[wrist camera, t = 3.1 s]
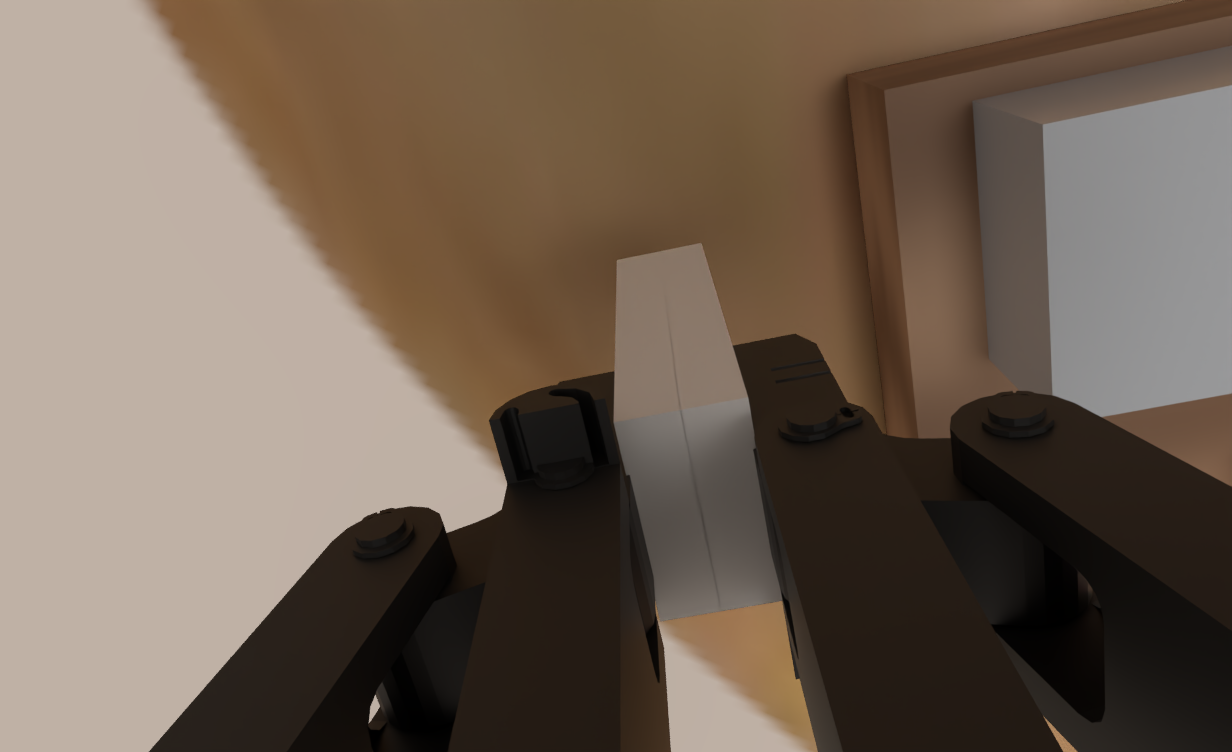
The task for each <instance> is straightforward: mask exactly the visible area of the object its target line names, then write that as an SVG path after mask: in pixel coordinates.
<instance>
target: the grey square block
mask: <svg viewBox="0 0 1232 752" xmlns="http://www.w3.org/2000/svg"><path fill="white" fill-rule="evenodd" d="M972 103H973V118H974V134H975V150H976V165H977V181H978V196H979V212H980V228H981V243H982V259H983V274H984V290H985V306H986V321H987V337H988V352H989V360H990V361H991V362H992V363H993V364H994V365H995V366H996V367H997V368H998V369H999V370H1000V371H1001V372H1002V373H1003V374H1004V375H1005V376H1006V377H1007V378H1008V379H1009V380H1010V381H1011V382H1012V383H1013V384H1014V385H1015V386H1016V387H1017V388H1018V389H1019V391H1031V392H1034V393H1038V394H1046V395H1053V396H1057V397H1060V398H1062V399H1065V400H1068V401H1071V402H1074V403H1076V404H1078V405H1079V406H1081V407H1083V408H1085V409H1087V410H1089V411H1091V412H1093V413H1094V414H1096V415H1098V416H1100V417H1105V416H1110V415H1116V414H1121V413H1127V412H1132V411H1138V410H1143V409H1149V408H1154V407H1160V406H1165V405H1171V404H1176V403H1182V402H1187V401H1193V400H1198V399H1204V398H1209V397H1215V396H1220V395H1226V394H1231V393H1232V46H1228V47H1223V48H1218V49H1213V50H1209V51H1204V52H1199V53H1195V54H1190V55H1185V56H1180V57H1176V58H1171V59H1166V60H1162V61H1157V62H1152V63H1148V64H1143V65H1138V66H1133V67H1129V68H1124V69H1119V70H1115V71H1110V72H1105V73H1100V74H1096V75H1091V76H1086V77H1082V78H1077V79H1072V80H1068V81H1063V82H1058V83H1053V84H1049V85H1044V86H1039V87H1035V88H1030V89H1025V90H1020V91H1016V92H1011V93H1006V94H1002V95H997V96H992V97H988V98H983V99H978V100H973V101H972Z"/></svg>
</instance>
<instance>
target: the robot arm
mask: <svg viewBox="0 0 1232 752" xmlns="http://www.w3.org/2000/svg"><path fill="white" fill-rule="evenodd" d="M489 422H490V426H491V429H492V433H493V436H494V439H495V443H496V446H497V450H498V453H499V457H500V460H501V463H502V467H503V470H504V474H505V477H506V481H507V489H506V493H505V498H504V503H503V507H502V510H501V511H499V512H497V513H496V514H494V515H492V516H490V517H488V518H486V519H483V520H481V521H479V522H476V523H473V524H471V525H468V526H465V527H462V528H460V529H457V530H454V531H452V532H449V533H446V531H445V527H444V524H443V522H442V519H441V516H440V514H439V513H437V512H435V511H433V510H431V509H429V508H425V507H411V506H410V507H404V508H397V509H394V508H390V509H386V510H382V511H380V513H379V514H377V513H374V514H371V515H368V516H366V517H365V518H363V520H362V521H360V522H358V523H356V524H355V525H353V526H351V527H349V528H347V529H346V530H345V531H344V532H343V533H341V534H340V535H339V536H338V537H337V538H336V539H334V541H332V542H331V543H330V545H329V546H328V547H327V548H326V549H325V550H324V551H323V553H322V554H321V555H320V556H319V557H318V558H317V559H316V561H315V562H314V563H313V564H312V565H311V566H310V568H309V569H308V570H307V571H306V572H305V573H304V574H303V576H302V577H301V578H300V579H299V580H298V581H297V582H296V584H295V585H294V586H293V587H292V588H291V589H290V590H289V592H288V593H287V594H286V595H285V596H284V598H283V599H282V600H281V601H280V602H279V603H278V604H277V605H276V607H275V608H274V609H273V610H272V611H271V612H270V614H269V615H268V616H267V617H266V618H265V619H264V620H263V621H262V623H261V624H260V625H259V626H258V627H257V628H256V629H255V631H254V632H253V633H252V634H251V635H250V636H249V637H248V639H247V640H246V641H245V642H244V643H243V644H242V645H241V647H240V648H239V649H238V650H237V651H236V652H235V654H234V655H233V656H232V657H231V658H230V659H229V660H228V662H227V663H226V664H225V665H224V666H223V667H222V668H221V670H220V671H219V672H218V673H217V674H216V675H215V676H214V678H213V679H212V680H211V681H210V682H209V683H208V684H207V686H206V687H205V688H204V689H203V690H202V691H201V693H200V694H199V695H198V696H197V697H196V698H195V699H194V701H193V702H192V703H191V704H190V705H189V706H188V708H187V709H186V710H185V711H184V712H183V713H182V715H180V717H179V718H178V719H177V720H176V721H175V722H174V724H173V725H172V726H171V727H170V728H169V729H168V730H167V732H166V733H165V734H164V735H163V736H162V737H161V738H160V740H159V741H158V742H157V743H156V744H155V745H154V746H153V748H152V749H151V750H150V751H149V752H671V748H670V732H669V718H668V702H667V689H666V688H667V687H666V672H665V657H664V647H663V642H662V638H661V634H660V629H659V625H658V621H657V617H656V610H655V601H656V605H657V609H658V614H659V618H660V621H666V620H672V619H678V618H683V617H689V616H695V615H701V614H707V613H713V612H719V611H725V610H731V609H737V608H743V607H749V606H755V605H760V604H766V603H772V602H778V601H782V602H783V607H784V613H785V619H786V625H787V631H788V636H789V642H790V648H791V654H792V660H793V665H794V671H795V677H796V679H800V681H801V685H802V689H803V693H804V697H805V701H806V705H807V709H808V713H809V717H810V721H811V725H812V729H813V733H814V737H815V741H816V745H817V749H818V752H1063V751H1062V749H1061V747H1060V745H1059V743H1058V742H1057V740H1056V738H1055V736H1054V735H1053V733H1052V731H1051V729H1050V728H1049V726H1048V724H1047V722H1046V721H1045V719H1044V717H1045V718H1046V719H1047V720H1048V721H1049V722H1050V723H1051V724H1052V725H1053V726H1054V727H1055V728H1056V730H1057V731H1058V732H1059V733H1060V734H1061V735H1062V736H1063V737H1064V738H1065V739H1066V740H1067V741H1068V742H1069V743H1070V744H1071V745H1072V746H1073V747H1074V748H1075V749H1076V750H1077V751H1078V752H1232V487H1231V486H1229V485H1228V484H1226V483H1224V482H1222V481H1220V480H1218V479H1216V478H1214V477H1213V476H1211V475H1209V474H1207V473H1205V472H1203V471H1201V470H1199V469H1198V468H1196V467H1194V466H1192V465H1190V464H1188V463H1186V462H1184V461H1183V460H1181V459H1179V458H1177V457H1175V456H1173V455H1171V454H1169V453H1168V452H1166V451H1164V450H1162V449H1160V448H1158V447H1156V446H1154V445H1153V444H1151V443H1149V442H1147V441H1145V440H1143V439H1141V438H1139V437H1138V436H1136V435H1134V434H1132V433H1130V432H1128V431H1126V430H1124V429H1123V428H1121V427H1119V426H1117V425H1115V424H1113V423H1111V422H1109V421H1108V420H1106V419H1104V418H1102V417H1100V416H1098V415H1096V414H1094V413H1093V412H1091V411H1089V410H1087V409H1085V408H1083V407H1081V406H1079V405H1078V404H1076V403H1074V402H1071V401H1068V400H1065V399H1062V398H1060V397H1057V396H1053V395H1046V394H1038V393H1034V392H1031V391H1016V393H1013V391H1007V392H1000V393H997V394H996V395H992V396H987V397H982V398H979V399H977V400H974V401H972V402H970V403H967V404H965V405H963V406H961V407H960V408H959V409H958V410H957V411H956V412H955V413H954V414H953V415H952V416H951V422H950V436H951V438H902V437H896V436H890V435H885V434H882V432H881V430H880V429H879V427H878V425H877V423H876V422H875V420H874V418H873V416H872V415H871V414H870V413H868V412H867V411H866V410H865V409H864V408H863V407H860V406H857V405H854V404H851V403H848V402H847V400H846V399H845V397H844V395H843V393H842V391H841V389H840V387H839V385H838V384H837V382H836V380H835V378H834V376H833V374H832V373H831V371H830V369H829V367H828V365H827V363H826V361H824V357H823V356H822V354H821V352H820V350H819V348H818V346H817V344H816V343H814V342H811V341H809V340H807V339H805V338H803V337H801V336H799V335H797V334H791V335H786V336H781V337H776V338H771V339H765V340H760V341H755V342H750V343H745V344H740V345H734V346H732V342H731V339H730V336H729V332H728V329H727V326H726V323H725V319H724V316H723V313H722V309H721V306H720V303H719V299H718V296H717V293H716V289H715V286H714V283H713V280H712V276H711V273H710V270H709V266H708V263H707V260H706V256H705V253H704V250H703V247H702V243H698V244H693V245H688V246H683V247H678V248H674V249H669V250H664V251H659V252H654V253H649V254H644V255H639V256H634V257H629V258H624V259H619V260H617V279H616V328H615V371H614V372H608V373H603V374H598V375H593V376H588V377H582V378H577V379H572V380H567V381H562V382H559V383H558V384H557V385H553V386H548V387H544V388H541V389H537V390H533V391H530V392H527V393H525V394H523V395H521V396H518V397H516V398H514V399H512V400H510V401H508V402H507V403H505V404H504V405H503V406H501V407H500V408H498V409H497V410H496V411H495V412H494V414H493V415H492V417H491V418H490V420H489ZM375 694H376V697H377V699H378V702H379V704H380V708H379V709H378V711H377V713H376V714H375V716H374V717H373V719H372V721H371V722H370V723H369V724H368V722H369V714H370V706H371V703H372V701H373V699H374V696H375ZM1043 716H1044V717H1043Z"/></svg>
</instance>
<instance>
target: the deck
mask: <svg viewBox="0 0 1232 752" xmlns="http://www.w3.org/2000/svg"><path fill="white" fill-rule="evenodd" d="M1228 46H1232V0H1187V1H1183V2H1178V3H1174V4H1169V5H1164V6H1160V7H1155V8H1151V9H1146V10H1141V11H1137V12H1132V13H1128V14H1123V15H1118V16H1114V17H1109V18H1105V19H1100V20H1095V21H1091V22H1086V23H1082V24H1077V25H1072V26H1068V27H1063V28H1059V29H1054V30H1049V31H1045V32H1040V33H1036V34H1031V35H1026V36H1022V37H1017V38H1013V39H1008V40H1003V41H999V42H994V43H990V44H985V45H980V46H976V47H971V48H967V49H962V50H957V51H953V52H948V53H944V54H939V55H934V56H930V57H925V58H921V59H916V60H911V61H907V62H902V63H898V64H893V65H888V66H884V67H879V68H875V69H870V70H865V71H861V72H856V73H852V74H847V84H848V93H849V102H850V111H851V119H852V128H853V137H854V146H855V155H856V164H857V173H858V181H859V190H860V199H861V208H862V217H863V226H864V235H865V243H866V252H867V261H868V270H869V279H870V288H871V297H872V306H873V314H874V323H875V332H876V341H877V350H878V359H879V368H880V376H881V385H882V394H883V403H884V412H885V421H886V430H887V435H890V436H896V437H902V438H951V436H950V422H951V416H952V415H953V414H954V413H955V412H956V411H957V410H958V409H959V408H960V407H961V406H963V405H965V404H967V403H970V402H972V401H974V400H977V399H979V398H982V397H987V396H992V395H996V394H997V393H1000V392H1007V391H1013V393H1016V391H1019V389H1018V388H1017V387H1016V386H1015V385H1014V384H1013V383H1012V382H1011V381H1010V380H1009V379H1008V378H1007V377H1006V376H1005V375H1004V374H1003V373H1002V372H1001V371H1000V370H999V369H998V368H997V367H996V366H995V365H994V364H993V363H992V362H991V361H990V360H989V352H988V337H987V321H986V306H985V290H984V274H983V259H982V243H981V228H980V212H979V196H978V181H977V165H976V150H975V134H974V118H973V103H972V101H973V100H978V99H983V98H988V97H992V96H997V95H1002V94H1006V93H1011V92H1016V91H1020V90H1025V89H1030V88H1035V87H1039V86H1044V85H1049V84H1053V83H1058V82H1063V81H1068V80H1072V79H1077V78H1082V77H1086V76H1091V75H1096V74H1100V73H1105V72H1110V71H1115V70H1119V69H1124V68H1129V67H1133V66H1138V65H1143V64H1148V63H1152V62H1157V61H1162V60H1166V59H1171V58H1176V57H1180V56H1185V55H1190V54H1195V53H1199V52H1204V51H1209V50H1213V49H1218V48H1223V47H1228ZM1102 418H1104V419H1106V420H1108V421H1109V422H1111V423H1113V424H1115V425H1117V426H1119V427H1121V428H1123V429H1124V430H1126V431H1128V432H1130V433H1132V434H1134V435H1136V436H1138V437H1139V438H1141V439H1143V440H1145V441H1147V442H1149V443H1151V444H1153V445H1154V446H1156V447H1158V448H1160V449H1162V450H1164V451H1166V452H1168V453H1169V454H1171V455H1173V456H1175V457H1177V458H1179V459H1181V460H1183V461H1184V462H1186V463H1188V464H1190V465H1192V466H1194V467H1196V468H1198V469H1199V470H1201V471H1203V472H1205V473H1207V474H1209V475H1211V476H1213V477H1214V478H1216V479H1218V480H1220V481H1222V482H1224V483H1226V484H1228V485H1229V486H1231V487H1232V393H1231V394H1226V395H1220V396H1215V397H1209V398H1204V399H1198V400H1193V401H1187V402H1182V403H1176V404H1171V405H1165V406H1160V407H1154V408H1149V409H1143V410H1138V411H1132V412H1127V413H1121V414H1116V415H1110V416H1105V417H1102Z"/></svg>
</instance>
